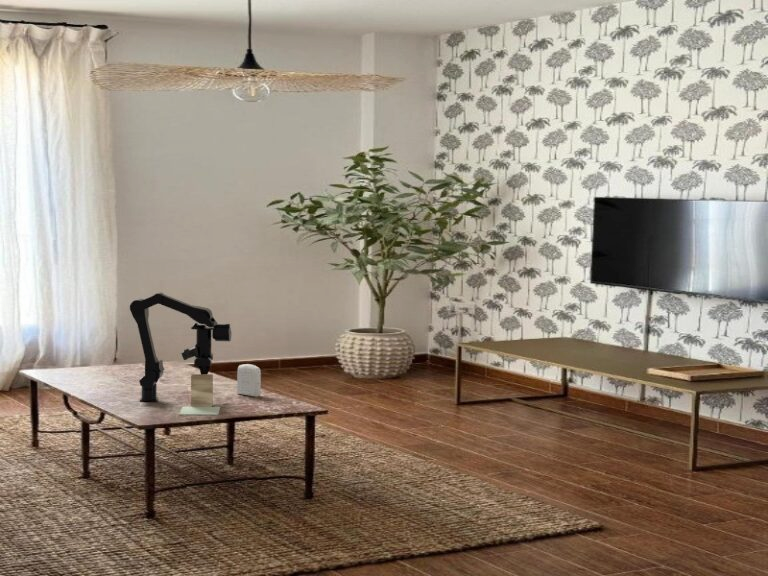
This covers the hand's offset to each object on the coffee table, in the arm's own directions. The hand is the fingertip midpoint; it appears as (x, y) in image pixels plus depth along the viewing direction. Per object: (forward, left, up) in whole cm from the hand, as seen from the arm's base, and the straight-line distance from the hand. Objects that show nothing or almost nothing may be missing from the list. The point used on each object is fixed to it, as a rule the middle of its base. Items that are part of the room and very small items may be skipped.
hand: (203, 381), depth 444 cm
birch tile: (+10, 0, -8) cm, 13 cm away
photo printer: (-14, +17, -8) cm, 24 cm away
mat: (+19, 0, -8) cm, 21 cm away
